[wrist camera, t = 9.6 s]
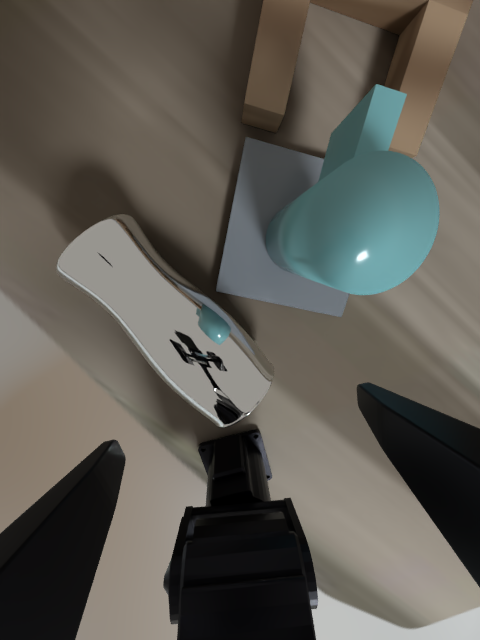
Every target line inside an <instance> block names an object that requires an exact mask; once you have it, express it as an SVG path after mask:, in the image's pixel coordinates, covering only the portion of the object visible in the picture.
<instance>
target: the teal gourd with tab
mask: <svg viewBox="0 0 480 640" xmlns="http://www.w3.org/2000/svg"><path fill="white" fill-rule="evenodd" d="M406 96H407V94H405V93H402V92H399V91H396V90H393V89H390V88H387V87H384V86H381V85H378V84H376V85H375V86H374V87H373V88H372V89H371V90H370V91H369V92H368V94H367V95H366V96H365V97H364V98H363V99H362V100H361V101H360V102H359V103H358V105H357V106H356V107H355V108H354V109H353V110H352V111H351V112H350V113H349V114H348V116H347V117H346V118H345V119H344V120H343V121H342V122H341V123H340V124H339V125H338V127H337V128H336V129H335V130H334V131H333V132H332V133H331V137H330V140H329V144H328V147H327V151H326V155H325V158H324V162H323V166H322V169H321V173H320V177H319V180H318V183H316V184H315V185H314V186H312V187H311V188H309V189H308V190H307V191H305V192H304V193H303V194H301V195H300V196H299V197H297V198H296V199H294V200H293V201H292V202H290V203H289V204H288V205H286V206H285V207H284V208H282V209H281V210H280V211H278V212H277V213H276V214H275V216H274V217H273V218H272V220H271V221H270V223H269V225H268V228H267V231H266V240H265V241H266V249H267V252H268V255H269V257H270V258H271V260H272V261H273V262H274V264H275V265H276V266H278V267H279V268H280V269H282V270H284V271H287V272H290V273H292V274H295V275H298V276H301V277H304V278H307V279H309V280H312V281H315V282H318V283H321V284H324V285H326V286H329V287H332V288H335V289H338V290H341V291H343V292H347V293H350V294H356V295H370V294H377V293H381V292H384V291H386V290H389V289H391V288H393V287H395V286H397V285H399V284H400V283H402V282H403V281H405V280H406V279H407V278H408V277H409V276H411V275H412V274H413V273H414V272H415V271H416V270H417V269H418V268H419V266H420V265H421V264H422V262H423V261H424V260H425V258H426V256H427V255H428V253H429V251H430V249H431V247H432V245H433V242H434V240H435V237H436V233H437V229H438V224H439V201H438V196H437V192H436V188H435V186H434V184H433V181H432V179H431V178H430V176H429V175H428V173H427V172H426V171H425V169H424V168H423V167H422V166H421V165H420V164H419V163H417V162H416V161H415V160H413V159H412V158H410V157H408V156H406V155H404V154H401V153H398V152H393V151H388V150H389V147H390V144H391V141H392V138H393V135H394V132H395V129H396V126H397V123H398V120H399V117H400V114H401V111H402V108H403V105H404V102H405V99H406Z"/></svg>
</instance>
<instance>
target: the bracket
mask: <svg viewBox="0 0 480 640" xmlns="http://www.w3.org/2000/svg"><path fill="white" fill-rule="evenodd" d="M310 2H311V3H313V4H316V5H319V6H321V7H324V8H327V9H330V10H332V11H335V12H338V13H340V14H343V15H346V16H349V17H351V18H354V19H357V20H360V21H362V22H365V23H368V24H370V25H373V26H376V27H379V28H381V29H384V30H387V31H390V32H392V33H395V34H398V35H400V36H399V40H398V43H397V46H396V49H395V52H394V56H393V59H392V62H391V65H390V68H389V72H388V75H387V78H386V81H385V84H384V87H387V88H390V89H393V90H396V91H399V92H402V93H405V94H407V96H406V99H405V102H404V105H403V108H402V111H401V114H400V117H399V120H398V123H397V126H396V129H395V132H394V135H393V138H392V141H391V144H390V147H389V150H388V151H393V152H398V153H401V154H404V155H406V156H408V157H410V158H413V157H415V156H417V153H418V151H419V148H420V145H421V142H422V140H423V137H424V134H425V131H426V129H427V126H428V123H429V120H430V118H431V115H432V112H433V109H434V107H435V104H436V101H437V98H438V96H439V93H440V90H441V87H442V85H443V82H444V79H445V76H446V74H447V71H448V68H449V65H450V63H451V60H452V57H453V54H454V52H455V49H456V46H457V43H458V41H459V38H460V35H461V32H462V30H463V27H464V24H465V21H466V19H467V16H468V13H469V10H470V8H471V5H472V2H473V0H263V5H262V10H261V15H260V21H259V26H258V31H257V37H256V42H255V47H254V53H253V58H252V63H251V69H250V74H249V79H248V85H247V90H246V95H245V101H244V107H243V114H242V122H241V123H243V124H247V125H250V126H254V127H257V128H260V129H264V130H267V131H271V132H274V133H276V132H277V130H278V128H279V126H280V123H281V121H282V119H283V117H284V114H285V109H286V105H287V101H288V96H289V92H290V87H291V83H292V79H293V74H294V70H295V65H296V61H297V57H298V52H299V48H300V43H301V39H302V34H303V30H304V26H305V21H306V17H307V12H308V8H309V4H310Z"/></svg>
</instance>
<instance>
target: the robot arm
mask: <svg viewBox="0 0 480 640" xmlns="http://www.w3.org/2000/svg"><path fill="white" fill-rule="evenodd" d="M357 400H358V406H359V409H360V411H361V412H362V414H363V416H364V418H365V420H366V421H367V423H368V425H369V427H370V428H371V430H372V432H373V434H374V436H375V437H376V439H377V441H378V443H379V444H380V446H381V448H382V449H383V451H384V452H385V454H386V455H387V457H388V458H389V460H390V461H391V462H392V464H393V465H394V467H395V468H396V469H397V471H398V472H399V474H400V475H401V477H402V478H403V479H404V481H405V482H406V484H407V485H408V486H409V488H410V489H411V491H412V492H413V494H414V495H415V496H416V498H417V499H418V501H419V502H420V504H421V505H422V506H423V508H424V509H425V511H426V512H427V513H428V515H429V516H430V518H431V519H432V521H433V522H434V523H435V525H436V526H437V528H438V529H439V530H440V532H441V533H442V535H443V536H444V538H445V539H446V540H447V542H448V543H449V545H450V546H451V547H452V549H453V550H454V552H455V553H456V555H457V556H458V557H459V559H460V560H461V562H462V563H463V564H464V566H465V567H466V569H467V570H468V572H469V573H470V574H471V576H472V577H473V579H474V580H475V582H476V583H477V584H478V586H479V587H480V429H479V428H477V427H475V426H472V425H470V424H467V423H465V422H463V421H460V420H458V419H455V418H453V417H451V416H448V415H446V414H444V413H441V412H439V411H436V410H434V409H432V408H429V407H427V406H424V405H422V404H420V403H417V402H415V401H412V400H410V399H408V398H405V397H403V396H400V395H398V394H396V393H393V392H391V391H389V390H386V389H384V388H381V387H379V386H377V385H374V384H372V383H369V382H367V383H363V384H359V385H357ZM255 434H257V435H256V436H254V435H255ZM202 448H205V449H202ZM198 451H199V454H200V456H201V459H202V462H203V464H204V467H205V470H206V472H207V475H208V482H207V496H206V506H205V507H194V508H193V507H192V506H189V507H186V509H185V513H184V517H182V519H181V523H180V526H179V531H178V535H177V539H176V543H175V547H174V550H173V554H172V558H171V561H170V563H169V566H168V568H167V571H166V573H165V576H164V589H165V590H166V592H167V594H168V596H169V609H170V622H171V624H178V636H177V640H316V637H315V630H314V624H313V618H312V611H311V609H316V608H317V605H318V596H317V586H316V578H315V572H314V567H313V562H312V558H311V554H310V550H309V546H308V543H307V540H306V537H305V534H304V532H303V529H302V527H301V524H300V521H299V519H298V516H297V514H296V511H295V508H294V506H293V503H292V501H291V498H284V500H275V501H271V498H270V493H269V488H268V482H267V481H268V480H270V479H271V478H272V473H271V469H270V466H269V462H268V459H267V455H266V451H265V448H264V444H263V441H262V437H261V433H260V431H259V430H251V431H248V432H244V433H240V434H236V435H232V436H228V437H224V438H220V439H216V440H212V441H208V442H204V443H201V444H200V445H199V448H198ZM124 466H125V455H124V453H123V451H122V449H121V447H120V445H119V443H118V441H116V440H110V441H106V442H103V443H102V444H101V445H100V446H99V447H98V448H97V449H95V450H94V451H93V452H92V453H91V454H90V455H89V456H87V457H86V458H85V459H84V460H83V461H82V462H81V463H80V464H78V465H77V466H76V467H75V468H74V469H73V470H72V471H70V472H69V473H68V474H67V475H66V476H65V477H64V478H63V479H61V480H60V481H59V482H58V483H57V484H56V485H55V486H53V487H52V488H51V489H50V490H49V491H48V492H47V493H45V494H44V495H43V496H42V497H41V498H40V499H39V500H38V501H37V502H35V504H33V505H32V506H31V507H30V508H29V509H28V510H26V511H25V512H24V513H23V514H22V515H21V516H20V517H18V518H17V519H16V520H15V521H14V522H13V523H12V524H10V525H9V526H8V527H7V528H6V529H5V530H4V531H3V532H2V533H1V534H0V640H75V638H76V635H77V632H78V628H79V625H80V622H81V619H82V615H83V612H84V609H85V606H86V603H87V599H88V596H89V592H90V590H91V586H92V583H93V580H94V576H95V573H96V570H97V566H98V564H99V560H100V557H101V554H102V551H103V547H104V544H105V541H106V538H107V534H108V531H109V528H110V525H111V521H112V518H113V515H114V511H115V507H116V503H117V499H118V494H119V490H120V485H121V480H122V476H123V470H124Z"/></svg>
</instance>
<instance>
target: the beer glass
mask: <svg viewBox="0 0 480 640" xmlns="http://www.w3.org/2000/svg"><path fill="white" fill-rule="evenodd" d="M56 272H57V274H58V275H59V276H60V277H61V278H62V279H63V280H65V281H66V282H67V283H69V284H70V285H72V286H73V287H75V288H77V289H78V290H80V291H81V292H83V293H84V294H86V295H87V296H89V297H90V298H91V299H93V300H94V301H95V302H97V303H98V304H99V305H100V306H101V307H103V308H104V309H105V310H106V311H107V312H108V313H109V314H110V315H111V316H112V317H113V318H114V319H115V320H116V322H117V323H118V324H119V325H120V327H121V328H122V329H123V330H124V332H125V333H126V334H127V336H128V337H129V338H130V340H131V341H132V342H133V344H134V345H135V346H136V348H137V349H138V350H139V352H140V353H141V354H142V356H143V357H144V358H145V359H146V361H147V362H148V363H149V365H150V366H151V367H152V368H153V369H154V371H155V372H156V373H157V374H158V375H159V377H160V378H161V379H162V380H163V381H164V382H165V383H166V384H167V385H168V386H169V387H170V388H171V389H172V390H173V391H174V392H175V393H176V394H178V395H179V396H180V397H181V398H182V399H183V400H185V401H186V402H187V403H188V404H189V405H191V406H192V407H193V408H195V409H196V410H197V411H198V412H200V413H201V414H203V415H204V416H205V417H207V418H208V419H209V420H210V421H212V422H213V423H214V424H215V425H216V426H218V427H228V426H231V425H233V424H235V423H237V422H239V421H240V420H242V419H243V418H245V417H246V416H247V415H248V414H249V413H251V412H252V411H253V410H254V409H255V408H256V407H257V405H258V404H259V403H260V402H261V401H262V399H263V398H264V396H265V395H266V393H267V392H268V390H269V388H270V386H271V384H272V381H273V378H274V366H273V364H272V363H271V362H270V361H269V360H268V359H267V358H266V356H265V355H264V354H263V352H262V351H261V350H260V348H259V347H258V346H257V344H256V343H255V342H254V341H253V339H252V338H251V337H250V336H249V335H248V333H247V332H246V331H245V330H244V329H243V328H242V326H241V325H240V324H239V323H238V322H237V321H236V320H235V319H234V318H233V317H232V316H231V315H230V314H229V313H228V312H226V311H225V310H224V309H223V308H222V307H221V306H219V305H218V304H217V303H216V302H215V301H213V300H212V299H211V298H210V297H208V296H207V295H206V294H205V293H203V292H202V291H201V290H199V289H198V288H197V287H195V286H194V285H193V284H192V283H190V282H189V281H188V280H186V279H185V278H184V277H183V276H181V275H180V274H179V273H178V272H176V271H175V270H174V269H173V268H172V267H171V266H170V265H169V264H168V263H167V262H166V261H165V260H164V259H163V258H162V257H161V256H160V254H159V253H158V252H157V251H156V250H155V248H154V247H153V246H152V244H151V243H150V241H149V240H148V238H147V237H146V235H145V234H144V232H143V231H142V229H141V228H140V226H139V225H138V223H137V222H136V221H135V219H134V218H133V217H131V216H130V215H127V214H117V215H113V216H110V217H108V218H105V219H103V220H101V221H99V222H97V223H95V224H94V225H92V226H91V227H89V228H88V229H86V230H85V231H83V232H82V233H81V234H80V235H78V236H77V237H76V238H75V239H74V240H73V241H72V242H71V243H70V244H69V245H68V246H67V247H66V248H65V250H64V251H63V252H62V254H61V255H60V257H59V259H58V261H57V263H56Z"/></svg>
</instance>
